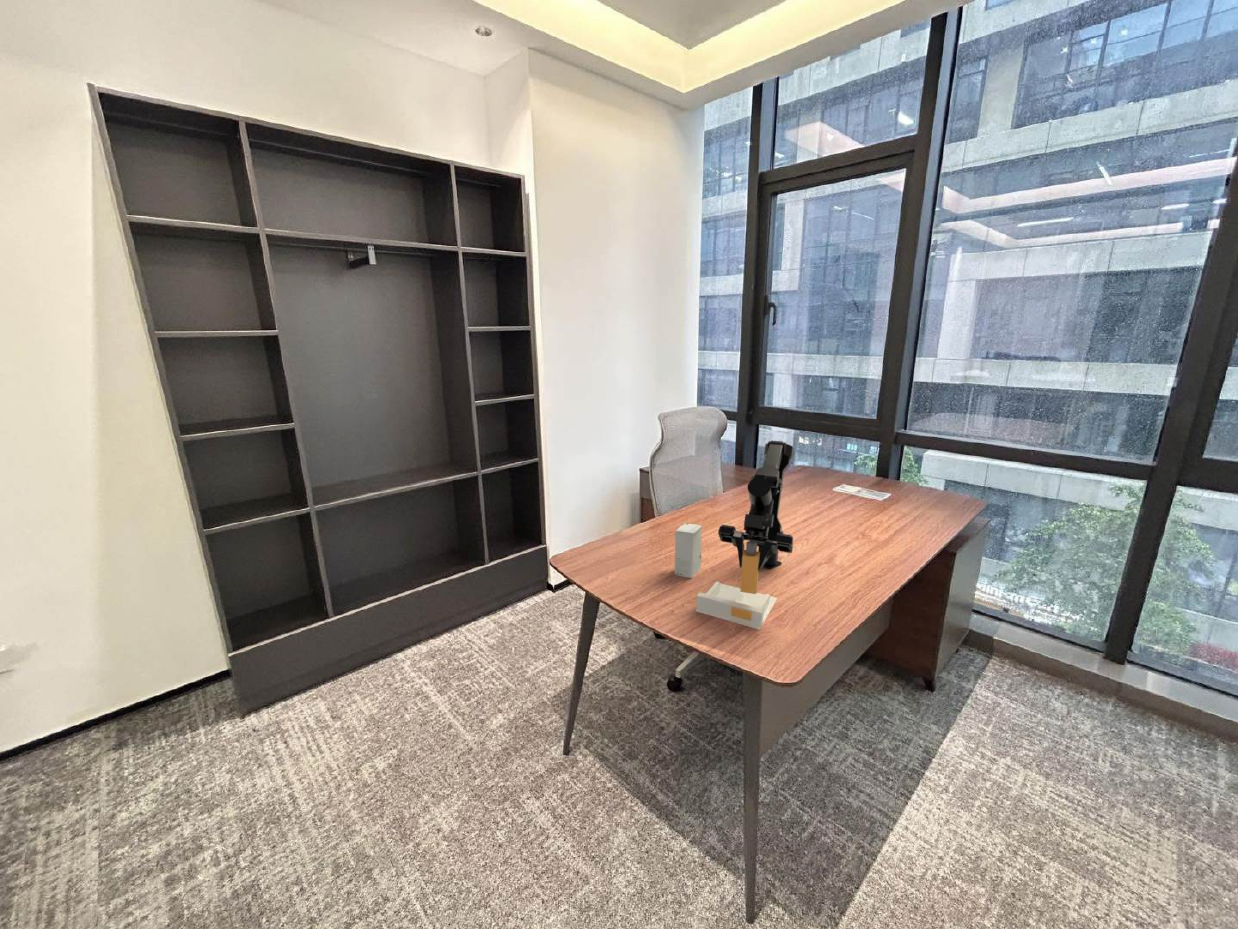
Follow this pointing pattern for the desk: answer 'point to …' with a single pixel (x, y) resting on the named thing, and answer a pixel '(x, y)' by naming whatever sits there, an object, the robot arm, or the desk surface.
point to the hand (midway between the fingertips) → (749, 568)
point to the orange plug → (750, 568)
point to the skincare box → (688, 550)
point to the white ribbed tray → (735, 605)
